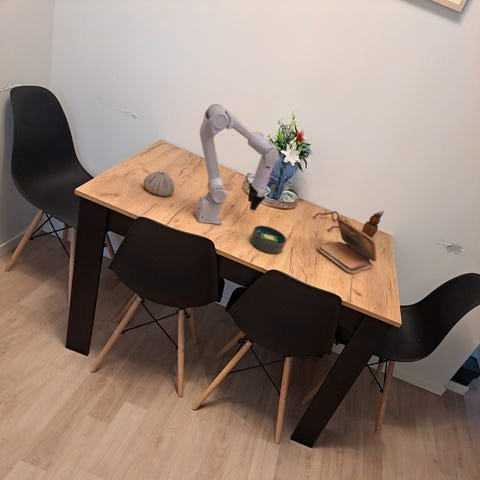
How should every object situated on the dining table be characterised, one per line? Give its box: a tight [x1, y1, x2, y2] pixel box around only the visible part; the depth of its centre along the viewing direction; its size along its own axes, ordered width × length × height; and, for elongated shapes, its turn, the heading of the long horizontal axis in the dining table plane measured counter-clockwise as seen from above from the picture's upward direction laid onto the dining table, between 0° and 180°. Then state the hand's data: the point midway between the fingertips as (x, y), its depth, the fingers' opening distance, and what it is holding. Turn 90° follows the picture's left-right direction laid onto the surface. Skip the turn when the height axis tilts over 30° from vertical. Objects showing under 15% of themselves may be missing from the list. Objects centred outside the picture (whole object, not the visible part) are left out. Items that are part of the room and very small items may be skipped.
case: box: [317, 217, 378, 275], centre depth 200 cm, size 20×21×16 cm
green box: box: [258, 233, 278, 243], centre depth 189 cm, size 8×5×3 cm, turn 96°
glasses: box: [312, 210, 350, 232], centre depth 229 cm, size 13×13×5 cm
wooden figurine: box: [361, 210, 385, 239], centre depth 229 cm, size 7×6×15 cm
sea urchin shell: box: [143, 170, 176, 197], centre depth 196 cm, size 13×14×8 cm
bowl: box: [250, 225, 287, 254], centre depth 189 cm, size 14×14×5 cm
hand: (251, 205), depth 194 cm, fingers open, 7 cm apart
